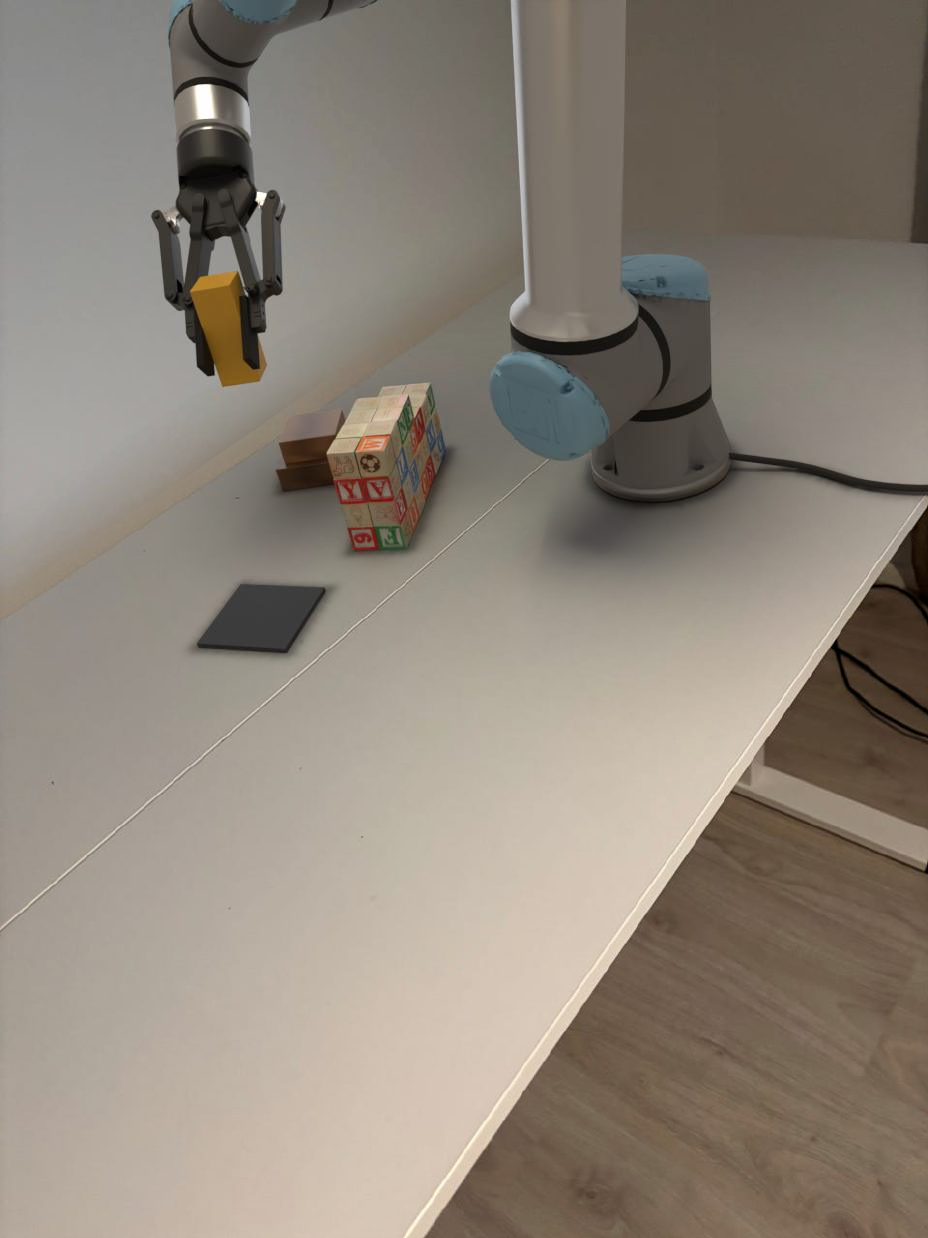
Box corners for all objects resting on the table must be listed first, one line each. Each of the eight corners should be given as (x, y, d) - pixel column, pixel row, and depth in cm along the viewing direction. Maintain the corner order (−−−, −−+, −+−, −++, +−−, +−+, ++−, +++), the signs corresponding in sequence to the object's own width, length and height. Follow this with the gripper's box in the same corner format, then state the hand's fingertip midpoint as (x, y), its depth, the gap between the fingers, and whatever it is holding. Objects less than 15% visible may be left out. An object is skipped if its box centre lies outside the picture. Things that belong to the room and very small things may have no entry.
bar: (267, 365, 107) (238, 270, 101) (259, 381, 103) (229, 284, 98) (230, 370, 107) (199, 276, 101) (222, 387, 104) (189, 291, 98)
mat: (326, 590, 107) (324, 587, 106) (286, 652, 99) (285, 648, 99) (242, 587, 110) (240, 583, 110) (197, 647, 103) (196, 643, 102)
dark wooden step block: (361, 445, 132) (350, 403, 128) (353, 481, 124) (342, 437, 121) (294, 455, 133) (281, 413, 129) (282, 491, 126) (268, 447, 122)
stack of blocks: (398, 453, 128) (376, 361, 121) (446, 450, 127) (428, 357, 119) (352, 551, 112) (324, 452, 104) (407, 549, 110) (383, 448, 103)
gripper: (306, 153, 106) (323, 368, 103) (151, 181, 109) (163, 392, 106) (283, 109, 99) (300, 339, 96) (117, 140, 101) (129, 366, 98)
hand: (228, 367), depth 101 cm, fingers closed on bar, 4 cm apart
